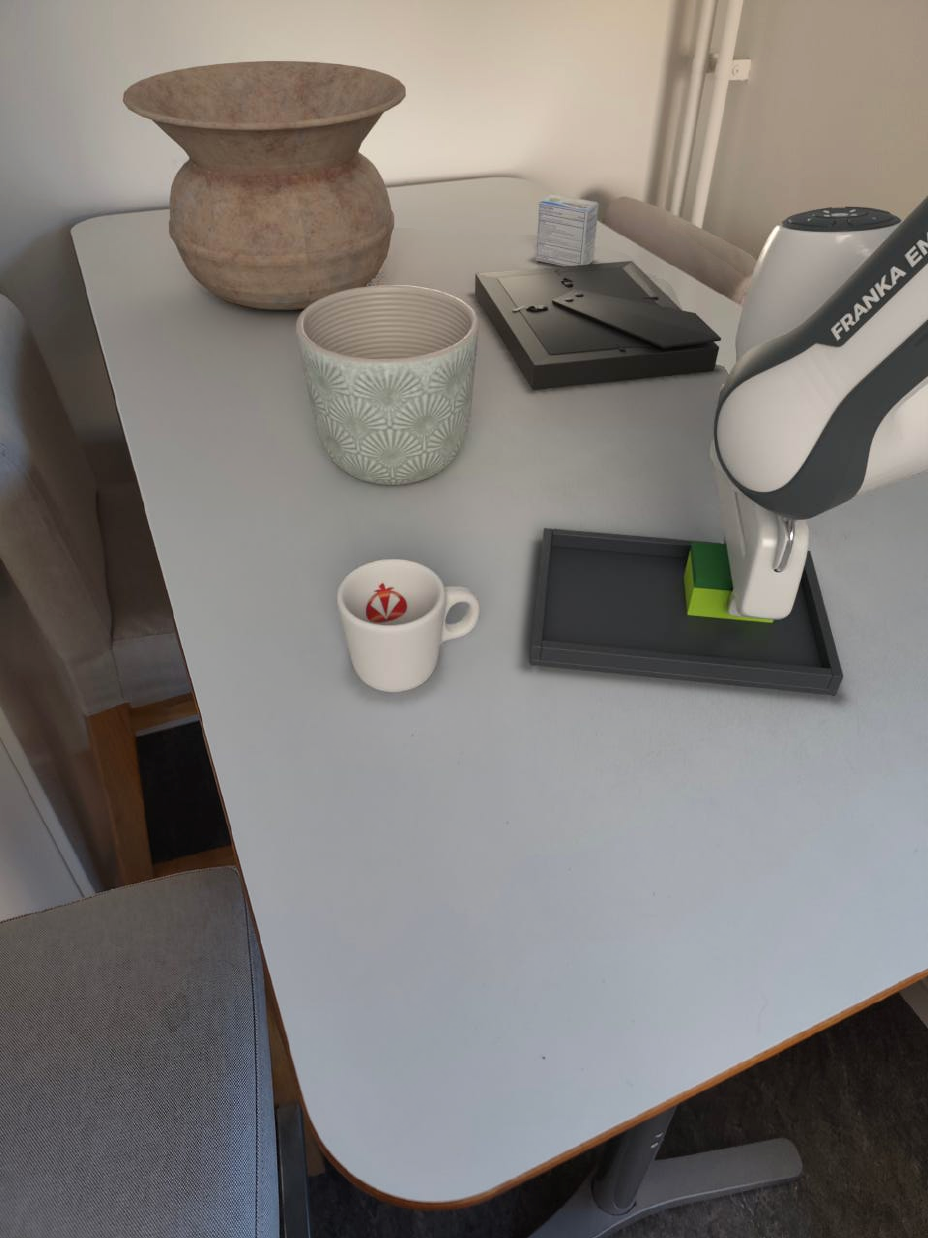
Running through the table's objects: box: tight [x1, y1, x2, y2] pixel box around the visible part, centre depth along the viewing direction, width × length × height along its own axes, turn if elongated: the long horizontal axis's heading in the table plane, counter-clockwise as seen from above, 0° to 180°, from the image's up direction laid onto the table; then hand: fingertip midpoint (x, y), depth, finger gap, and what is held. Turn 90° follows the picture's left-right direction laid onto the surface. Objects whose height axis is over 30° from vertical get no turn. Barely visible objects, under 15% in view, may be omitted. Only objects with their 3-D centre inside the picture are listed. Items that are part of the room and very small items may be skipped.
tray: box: [529, 527, 844, 696], centre depth 73 cm, size 24×16×2 cm, turn 83°
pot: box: [122, 60, 407, 311], centre depth 115 cm, size 34×34×25 cm
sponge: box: [684, 540, 773, 623], centre depth 73 cm, size 7×5×4 cm
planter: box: [295, 284, 480, 486], centre depth 85 cm, size 17×17×15 cm
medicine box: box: [535, 194, 600, 267], centre depth 129 cm, size 8×4×9 cm, turn 60°
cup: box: [336, 558, 481, 693], centre depth 66 cm, size 11×8×8 cm
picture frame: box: [474, 260, 722, 390], centre depth 113 cm, size 23×4×28 cm
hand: (733, 585), depth 73 cm, fingers closed on sponge, 5 cm apart
